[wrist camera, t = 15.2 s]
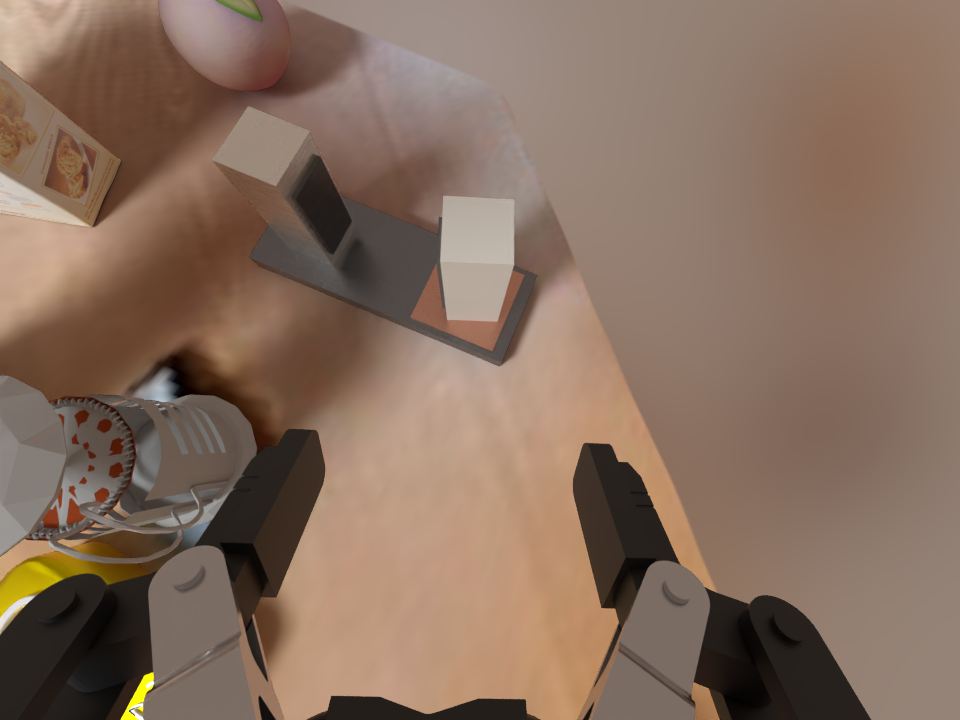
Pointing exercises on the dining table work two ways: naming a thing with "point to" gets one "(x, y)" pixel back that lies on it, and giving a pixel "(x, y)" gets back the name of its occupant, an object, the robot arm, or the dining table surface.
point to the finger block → (475, 256)
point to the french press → (114, 465)
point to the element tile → (48, 569)
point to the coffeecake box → (48, 159)
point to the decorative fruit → (230, 39)
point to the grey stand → (350, 239)
